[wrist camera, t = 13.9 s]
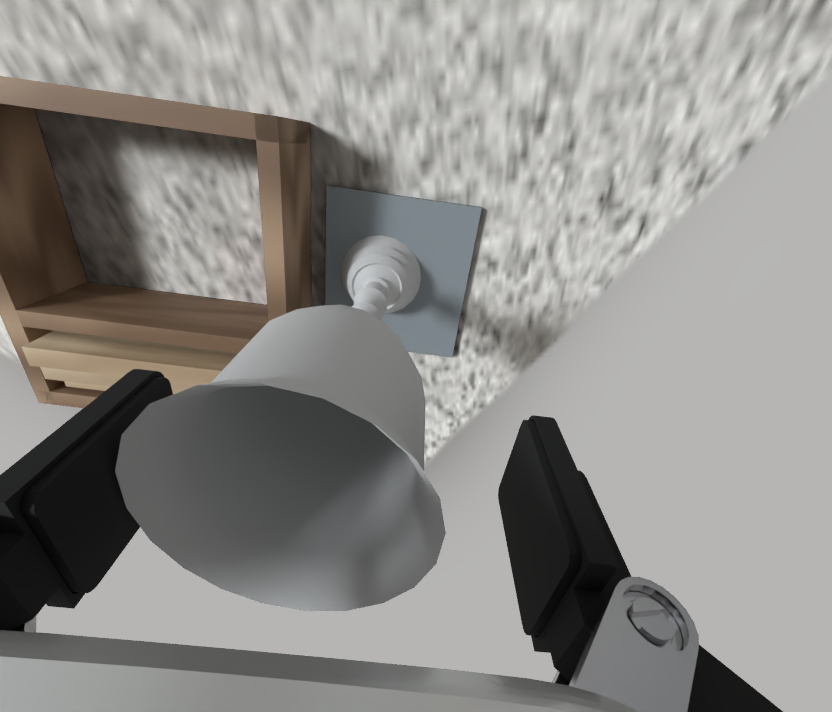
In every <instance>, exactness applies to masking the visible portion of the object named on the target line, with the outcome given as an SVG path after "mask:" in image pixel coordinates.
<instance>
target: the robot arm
mask: <svg viewBox="0 0 832 712" xmlns="http://www.w3.org/2000/svg"><path fill="white" fill-rule="evenodd" d="M171 395H173V392H172V388H171V384H170V381H169V380H168V379H167V378H164V375H163V374H162V373H161V372H159V371H151V370H143V369H133V370H131V371H129V372H128V373H127V374H126V375H124V376H123V377H122V378H121V379H119V380H118V381H117V382H116V383H115V384H113V385H112V386H111V387H110V388H108V389H107V390H106V391H105V392H103V393H102V394H101V395H100V396H98V397H97V398H96V399H95V400H93V401H92V402H91V403H90V404H88V405H87V406H86V407H85V408H83V409H82V410H81V411H80V412H78V413H77V414H76V415H75V416H73V417H72V418H71V419H70V420H69V421H67V422H66V423H65V424H63V425H62V426H61V427H60V428H59V429H57V430H56V431H55V432H54V433H52V434H51V435H50V436H49V437H47V438H46V439H45V440H44V441H42V442H41V443H40V444H39V445H37V446H36V447H35V448H34V449H32V450H31V451H30V452H29V453H27V454H26V455H25V456H24V457H22V458H21V459H20V460H19V461H17V462H16V463H15V464H14V465H12V466H11V467H10V468H9V469H8V470H6V471H5V472H4V473H2V474H1V475H0V712H783V711H781V710H780V709H779V708H777V707H776V706H775V705H774V704H773V703H771V702H770V701H769V700H768V699H766V698H765V697H764V696H763V695H761V694H760V693H759V692H757V691H756V690H755V689H754V688H753V687H751V686H750V685H749V684H747V683H746V682H745V681H744V680H743V679H741V678H740V677H738V676H737V675H736V674H735V673H734V672H732V671H731V670H730V669H729V668H728V667H726V666H725V665H724V664H723V663H721V662H720V661H719V660H717V659H716V658H715V657H714V656H712V655H711V654H710V653H709V652H707V651H706V650H705V649H704V648H702V647H701V646H700V645H699V641H698V640H699V639H698V633H697V630H696V627H695V624H694V622H693V620H692V619H691V617H690V615H689V614H688V612H687V611H686V609H685V608H684V607H683V606H682V605H681V604H680V602H679V601H678V600H677V599H676V598H675V597H674V596H673V595H671V594H670V593H669V592H668V591H667V590H666V589H664V588H663V587H661V586H659V585H658V584H656V583H654V582H652V581H650V580H647V579H644V578H641V577H631V575H630V573H629V571H628V568H627V566H626V564H625V562H624V559H623V557H622V555H621V553H620V551H619V549H618V546H617V544H616V542H615V540H614V538H613V535H612V533H611V531H610V529H609V527H608V524H607V522H606V520H605V518H604V516H603V513H602V511H601V509H600V507H599V505H598V503H597V500H596V498H595V496H594V494H593V491H592V489H591V487H590V485H589V483H588V480H587V478H586V477H585V475H584V474H583V473H582V472H581V471H578V470H577V468H576V466H575V463H574V461H573V459H572V457H571V454H570V452H569V450H568V448H567V445H566V443H565V441H564V438H563V436H562V434H561V432H560V429H559V427H558V425H557V422H556V421H555V419H554V418H550V417H541V416H531V417H530V418H529V420H523V422H522V424H521V426H520V429H519V432H518V435H517V438H516V441H515V444H514V446H513V449H512V452H511V455H510V458H509V461H508V464H507V466H506V469H505V472H504V475H503V478H502V481H501V483H500V487H499V493H498V496H499V497H498V498H499V504H500V510H501V515H502V520H503V525H504V531H505V536H506V541H507V547H508V552H509V557H510V562H511V567H512V573H513V578H514V583H515V588H516V593H517V599H518V604H519V609H520V615H521V620H522V625H523V629H524V632H525V633H526V635H531V637H532V641H533V646H534V651H538V652H550V653H551V656H552V660H553V664H554V667H555V668H556V669H557V670H558V671H557V673H556V675H555V677H554V679H553V681H552V683H551V682H544V681H539V680H533V679H527V678H518V677H509V676H501V675H492V674H484V673H475V672H466V671H458V670H448V669H438V668H428V667H416V666H407V665H396V664H386V663H375V662H365V661H354V660H344V659H334V658H323V657H312V656H300V655H289V654H278V653H268V652H257V651H246V650H235V649H224V648H212V647H201V646H190V645H179V644H166V643H155V642H144V641H132V640H120V639H108V638H96V637H84V636H73V635H61V634H50V633H36V615H37V614H38V612H39V611H40V610H41V609H42V607H43V606H44V605H45V604H47V605H48V606H54V607H66V608H75V606H76V605H77V604H78V602H79V601H80V599H81V598H82V597H83V595H84V594H85V593H88V592H91V591H92V590H93V589H94V588H95V587H96V586H97V585H98V584H99V582H100V581H101V580H102V578H103V577H104V575H105V574H106V573H107V571H108V570H109V569H110V567H111V566H112V565H113V563H114V562H115V560H116V559H117V558H118V556H119V555H120V554H121V552H122V551H123V549H124V548H125V547H126V545H127V544H128V543H129V541H130V540H131V539H132V537H133V536H134V534H135V533H136V532H137V530H138V529H139V527H140V525H139V524H138V523H137V521H136V520H135V519H134V517H133V516H132V515H131V513H130V512H129V511H128V509H127V508H126V505H125V502H124V499H123V495H122V492H121V489H120V486H119V483H118V479H117V476H116V473H115V469H116V463H117V457H118V452H119V446H120V441H121V435H122V434H123V433H124V431H125V430H126V429H127V428H128V427H129V426H130V425H131V424H132V423H133V422H134V420H135V419H136V418H137V417H138V416H139V415H140V414H141V413H142V412H143V410H144V409H145V408H146V407H147V406H148V405H149V404H150V403H153V402H155V401H158V400H160V399H163V398H165V397H168V396H171Z"/></svg>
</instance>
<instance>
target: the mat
mask: <svg viewBox="0 0 832 712" xmlns="http://www.w3.org/2000/svg"><path fill="white" fill-rule="evenodd" d="M481 209H482V208H481V207H477V206H470V205H463V204H456V203H448V202H441V201H434V200H427V199H420V198H413V197H406V196H398V195H391V194H384V193H377V192H370V191H363V190H356V189H348V188H341V187H334V186H326V272H325V305H346V306H350V307H352V306H353V305H354V301H353V300H352V299H351V297H350V296H349V294H348V292H347V291H346V289H345V287H344V284H343V279H342V274H341V273H342V264H343V260H344V258H345V256H346V254H347V252H348V250H349V249H350V248H351V247H352V246H353V245H354V244H355V243H356V242H358V241H360V240H362V239H364V238H366V237H368V236H378V235H383V236H387V237H391V238H395V239H397V240H398V241H400V242H402V243H403V244H405V245H406V246H407V247H408V248H409V249H410V250H411V251H412V253H413V254H414V255H415V257H416V259H417V262H418V264H419V266H420V274H421V282H420V286H419V291H418V292H417V294H416V296H415V297H414V299H413V301H412V302H410V303H409V304H408V305H407V306H406V307H404V308H403V309H401V310H398V311H396V312H393V313H386V314H384V315H383V316H382V317H381V318H382V321H383V322H384V323H385V324H386V325H387V326H388V327H389V328H390V329H391V330H392V331H393V332H394V333H395V334H396V335H397V336H398V337H399V339H400V340H401V342H402V344H403V345H404V347H405V348H406V350H407V352H414V353H422V354H429V355H437V356H445V357H452V355H453V350H454V345H455V340H456V335H457V330H458V325H459V320H460V315H461V310H462V305H463V300H464V295H465V290H466V285H467V280H468V275H469V270H470V265H471V260H472V255H473V250H474V245H475V240H476V235H477V230H478V225H479V220H480V214H481Z"/></svg>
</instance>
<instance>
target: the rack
mask: <svg viewBox="0 0 832 712" xmlns="http://www.w3.org/2000/svg"><path fill="white" fill-rule="evenodd" d="M34 108H36V109H43V110H50V111H57V112H64V113H71V114H78V115H85V116H92V117H99V118H106V119H113V120H120V121H127V122H134V123H141V124H148V125H155V126H162V127H169V128H176V129H183V130H190V131H197V132H204V133H211V134H218V135H225V136H232V137H239V138H246V139H253V140H256V148H257V162H258V177H259V191H260V205H261V220H262V234H263V249H264V263H265V277H266V292H267V305H263V304H255V303H247V302H239V301H232V300H224V299H216V298H208V297H201V296H193V295H185V294H177V293H170V292H162V291H154V290H146V289H139V288H131V287H123V286H115V285H108V284H100V283H92V282H87V280H86V276H85V273H84V270H83V267H82V263H81V260H80V257H79V253H78V250H77V247H76V244H75V240H74V237H73V234H72V231H71V227H70V224H69V221H68V218H67V214H66V211H65V208H64V205H63V201H62V198H61V195H60V192H59V188H58V185H57V182H56V179H55V175H54V172H53V169H52V166H51V162H50V159H49V156H48V153H47V149H46V146H45V143H44V140H43V136H42V133H41V130H40V127H39V123H38V120H37V117H36V114H35V110H34ZM308 307H312V273H311V156H310V123H308V122H303V121H298V120H293V119H288V118H283V117H278V116H271V115H264V114H257V113H250V112H243V111H237V110H230V109H223V108H216V107H209V106H202V105H195V104H188V103H182V102H175V101H168V100H161V99H154V98H147V97H140V96H133V95H127V94H120V93H113V92H106V91H99V90H92V89H85V88H78V87H72V86H65V85H58V84H51V83H44V82H37V81H30V80H23V79H17V78H10V77H3V76H0V316H1V318H2V320H3V322H4V325H5V327H6V329H7V332H8V334H9V336H10V338H11V341H12V343H13V345H14V347H15V350H16V352H17V354H18V356H19V359H20V361H21V363H22V365H23V368H24V370H25V372H26V374H27V377H28V379H29V381H30V383H31V386H32V388H33V390H34V392H35V394H36V397H37V399H38V401H39V403H45V404H54V405H62V406H71V407H79V408H85V407H86V406H87V405H88V404H90V403H91V402H92V401H93V400H95V399H96V398H97V397H98V396H100V395H101V394H102V393H103V392H105V391H101V390H92V389H84V388H76V387H67V386H66V385H65V382H64V381H59V380H51V379H45V378H44V375H43V373H42V370H41V368H40V367H37V366H29V363H28V361H27V359H26V356H25V354H24V352H23V349H22V346H24V345H26V344H28V343H30V342H32V341H34V340H36V339H38V338H40V337H42V336H44V335H46V334H48V333H50V332H52V331H62V332H71V333H79V334H87V335H95V336H103V337H111V338H119V339H127V340H135V341H143V342H151V343H159V344H167V345H175V346H183V347H191V348H199V349H207V350H215V351H223V352H231V353H239V352H240V351H241V350H242V349H243V348H244V347H245V346H246V345H247V344H248V343H249V342H250V340H251V339H252V338H253V337H254V336H255V335H256V334H257V333H258V332H259V331H260V330H261V329H262V328H263V327H264V326H265V325H266V324H267V323H268V322H269V321H270V320H272V319H275V318H277V317H279V316H282V315H284V314H287V313H289V312H291V311H294V310H296V309H302V308H308Z"/></svg>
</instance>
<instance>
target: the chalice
mask: <svg viewBox="0 0 832 712" xmlns="http://www.w3.org/2000/svg"><path fill="white" fill-rule="evenodd" d="M341 274H342V279H343V284H344V287H345V289H346V291H347V292H348V294H349V296H350V297H351V299H352V300H353V301H354V305H353V306H352V307H350V306H346V305H323V306H315V307H308V308H302V309H296V310H294V311H291V312H289V313H287V314H284V315H282V316H279V317H277V318H275V319H272V320H270V321H269V322H268V323H267V324H266V325H265V326H264V327H263V328H262V329H261V330H260V331H259V332H258V333H257V334H256V335H255V336H254V337H253V338H252V339H251V340H250V342H249V343H248V344H247V345H246V346H245V347H244V348H243V349H242V350H241V351H240V352H239V353H238V354H237V355H236V356H235V357H234V359H233V360H232V361H231V362H230V363H229V364H228V365H227V366H226V367H225V368H224V369H223V370H222V371H221V372H220V373H219V375H218V376H217V377H216V378H215V379H214V380H213V381H212V382H211V383H206V384H200V385H196V386H194V387H191V388H188V389H186V390H183V391H181V392H178V393H176V394H173V395H171V396H168V397H165V398H163V399H160V400H158V401H155V402H153V403H150V404H149V405H148V406H147V407H146V408H145V409H144V410H143V412H142V413H141V414H140V415H139V416H138V417H137V418H136V419H135V420H134V422H133V423H132V424H131V425H130V426H129V427H128V428H127V429H126V430H125V431H124V433H123V434H122V435H121V441H120V446H119V452H118V457H117V463H116V469H115V473H116V476H117V479H118V483H119V486H120V489H121V492H122V495H123V499H124V502H125V505H126V508H127V509H128V511H129V512H130V513H131V515H132V516H133V517H134V519H135V520H136V521H137V523H138V524H139V525H140V527H141V528H142V529H143V531H144V532H145V534H146V535H147V536H148V537H149V539H150V540H151V541H152V542H153V543H154V544H155V545H157V546H158V547H159V548H160V549H161V550H163V551H164V552H165V553H166V554H168V555H169V556H170V557H171V558H172V559H174V560H175V561H176V562H177V563H178V564H180V565H181V566H182V567H183V568H185V569H187V570H189V571H190V572H192V573H194V574H196V575H198V576H199V577H201V578H203V579H205V580H207V581H208V582H210V583H212V584H214V585H216V586H217V587H219V588H221V589H224V590H227V591H229V592H232V593H235V594H238V595H241V596H244V597H246V598H249V599H252V600H255V601H258V602H260V603H265V604H271V605H275V606H281V607H287V608H292V609H298V610H304V611H347V610H352V609H357V608H361V607H366V606H371V605H376V604H380V603H384V602H386V601H388V600H390V599H392V598H394V597H396V596H398V595H400V594H402V593H404V592H406V591H407V590H410V589H412V588H414V587H415V586H416V585H417V584H418V583H419V582H420V581H421V579H422V578H423V577H424V576H425V575H426V574H427V573H428V572H429V571H430V570H431V569H432V568H433V566H434V565H435V564H436V563H437V559H438V556H439V553H440V549H441V546H442V543H443V540H444V536H445V527H444V521H443V515H442V509H441V503H440V498H439V496H438V494H437V493H436V491H435V489H434V488H433V486H432V485H431V483H430V481H429V480H428V478H427V476H426V475H425V473H424V436H425V397H424V391H423V384H422V378H421V376H420V374H419V372H418V370H417V368H416V366H415V364H414V363H413V361H412V359H411V357H410V355H409V353H408V352H407V350H406V348H405V347H404V345H403V344H402V342H401V340H400V339H399V337H398V336H397V335H396V334H395V333H394V332H393V331H392V330H391V329H390V328H389V327H388V326H387V325H386V324H385V323H384V322H383V321H382V318H381V317H382V316H383V315H384V314H386V313H393V312H396V311H398V310H401V309H403V308H404V307H406V306H407V305H408V304H409V303H410V302H412V301H413V299H414V297H415V296H416V294H417V292H418V291H419V286H420V282H421V274H420V266H419V264H418V262H417V259H416V257H415V255H414V254H413V253H412V251H411V250H410V249H409V248H408V247H407V246H406V245H405V244H403V243H402V242H400V241H398V240H397V239H395V238H391V237H387V236H383V235H378V236H368V237H366V238H364V239H362V240H360V241H358V242H356V243H355V244H354V245H353V246H352V247H351V248H350V249H349V250H348V252H347V254H346V256H345V258H344V260H343V264H342V273H341Z"/></svg>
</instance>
